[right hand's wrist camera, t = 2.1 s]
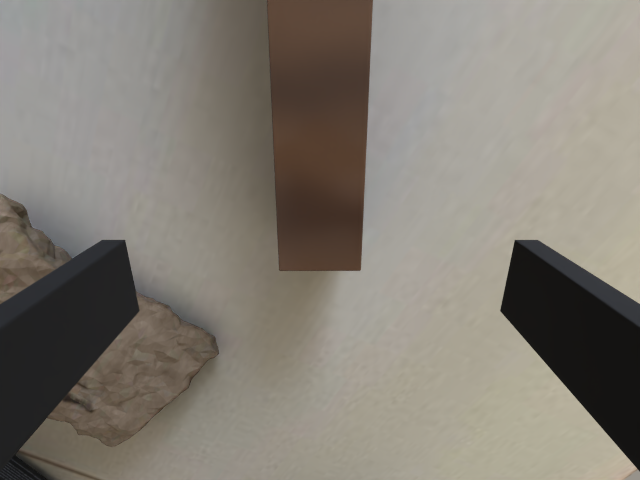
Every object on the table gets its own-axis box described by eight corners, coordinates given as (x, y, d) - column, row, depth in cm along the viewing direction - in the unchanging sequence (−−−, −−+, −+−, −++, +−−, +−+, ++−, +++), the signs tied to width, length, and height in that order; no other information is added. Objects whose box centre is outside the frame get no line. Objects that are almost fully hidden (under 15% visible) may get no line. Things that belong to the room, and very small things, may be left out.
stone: (-106, 324, 29) (-183, 371, 23) (7, 181, 28) (-43, 195, 22) (134, 424, 37) (121, 476, 31) (226, 316, 36) (229, 351, 31)
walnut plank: (350, 228, 29) (360, 270, 22) (289, 228, 29) (279, 271, 22) (367, -316, 19) (399, -594, 11) (271, -316, 19) (239, -594, 11)
